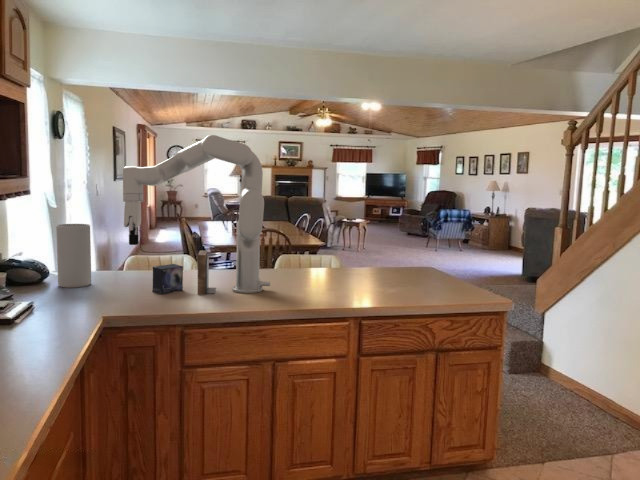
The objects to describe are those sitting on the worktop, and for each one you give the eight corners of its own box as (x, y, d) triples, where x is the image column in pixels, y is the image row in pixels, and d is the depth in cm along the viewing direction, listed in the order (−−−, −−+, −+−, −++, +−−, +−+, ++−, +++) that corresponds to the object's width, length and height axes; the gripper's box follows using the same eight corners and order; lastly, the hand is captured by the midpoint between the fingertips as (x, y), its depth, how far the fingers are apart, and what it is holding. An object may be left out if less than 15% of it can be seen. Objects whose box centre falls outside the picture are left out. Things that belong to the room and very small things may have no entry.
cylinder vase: (78, 289, 204) (76, 227, 201) (51, 286, 206) (49, 225, 203) (97, 283, 216) (96, 224, 213) (71, 280, 218) (70, 223, 215)
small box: (161, 295, 199) (161, 268, 198) (151, 292, 203) (151, 266, 202) (183, 290, 208) (183, 265, 206) (173, 288, 212) (173, 263, 210)
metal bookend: (215, 288, 214) (216, 255, 212) (214, 294, 203) (214, 259, 201) (207, 288, 213) (207, 255, 211) (205, 294, 202) (205, 259, 201)
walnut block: (207, 288, 214) (207, 250, 212) (205, 294, 202) (205, 255, 200) (199, 288, 213) (200, 250, 211) (197, 294, 201) (197, 255, 199)
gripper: (127, 196, 206) (128, 241, 208) (118, 198, 191) (119, 247, 193) (146, 197, 207) (147, 242, 209) (139, 199, 192) (140, 247, 194)
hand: (133, 244), depth 201 cm, fingers closed
